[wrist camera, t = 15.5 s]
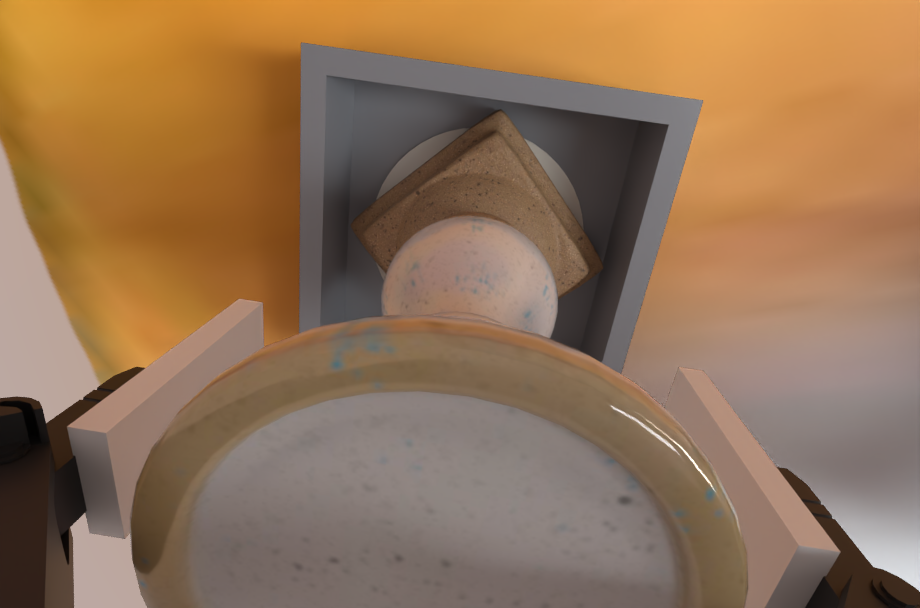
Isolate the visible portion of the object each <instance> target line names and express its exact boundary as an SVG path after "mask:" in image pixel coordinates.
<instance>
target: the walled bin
mask: <svg viewBox="0 0 920 608" xmlns="http://www.w3.org/2000/svg"><path fill="white" fill-rule="evenodd" d="M702 103H703V100H697V99H690V98H683V97H676V96H669V95H662V94H655V93H648V92H641V91H634V90H627V89H620V88H613V87H606V86H599V85H593V84H586V83H579V82H572V81H565V80H558V79H551V78H544V77H537V76H530V75H523V74H516V73H509V72H502V71H495V70H488V69H481V68H474V67H468V66H461V65H454V64H447V63H440V62H433V61H426V60H419V59H412V58H405V57H398V56H391V55H384V54H377V53H370V52H363V51H356V50H349V49H343V48H336V47H329V46H322V45H315V44H308V43H301V134H300V290H299V334H300V333H302V332H305V331H308V330H310V329H313V328H316V327H319V326H323V325H328V324H333V323H338V322H343V321H348V320H353V319H358V318H363V317H368V316H382V310H381V293H382V288H383V283H384V278H385V275H386V274H385V272H384V271H383V270H382V269H381V267H380V266H379V265H378V264H377V262H376V261H375V260H374V259H373V257H372V256H371V255H370V254H369V253H368V251H367V250H366V249H365V247H364V246H363V244H362V243H361V241H360V240H359V239H358V237H357V236H356V234H355V233H354V232H353V230H352V228H351V226H350V225H351V223H352V222H353V220H354V219H355V218H356V217H357V216H358V215H359V214H361V213H362V212H363V211H364V210H365V209H366V208H368V207H369V206H370V205H371V204H372V203H373V202H375V201H376V200H377V199H378V198H379V197H381V196H382V195H383V194H385V193H386V192H387V191H389V190H390V189H391V188H393V187H394V186H395V185H396V184H398V183H399V182H400V181H402V180H403V179H404V178H406V177H407V176H408V175H409V174H411V173H412V172H413V171H415V170H416V169H417V168H419V167H420V166H421V165H422V164H424V163H425V162H426V161H428V160H429V159H430V158H432V157H433V156H434V155H435V154H437V153H438V152H439V151H441V150H442V149H443V148H445V147H446V146H447V145H449V144H450V143H451V142H452V141H454V140H455V139H456V138H458V137H459V136H460V135H462V134H463V133H464V132H465V131H467V130H468V129H469V128H471V127H472V126H473V125H475V124H476V123H478V122H479V121H481V120H482V119H483V118H485V117H486V116H488V115H489V114H491V113H492V112H494V111H496V110H499V109H501V110H503V111H504V112H505V113H506V114H507V115H508V117H509V118H510V119H511V121H512V122H513V123H514V125H515V126H516V128H517V129H518V130H519V132H520V133H521V135H522V136H523V138H524V139H525V141H526V142H527V144H528V145H529V147H530V149H531V150H532V152H533V153H534V155H535V156H536V158H537V159H538V161H539V162H540V164H541V165H542V167H543V169H544V170H545V172H546V173H547V175H548V176H549V178H550V179H551V181H552V182H553V184H554V186H555V187H556V189H557V190H558V192H559V193H560V195H561V196H562V198H563V199H564V201H565V203H566V204H567V206H568V207H569V209H570V210H571V212H572V213H573V215H574V216H575V218H576V220H577V221H578V223H579V224H580V226H581V227H582V229H583V230H584V232H585V233H586V235H587V237H588V238H589V240H590V241H591V243H592V245H593V247H594V248H595V250H596V252H597V254H598V255H599V257H600V259H601V261H602V264H603V267H604V268H603V269H602V270H601V271H600V272H599V273H598V274H597V275H595V276H594V277H592V278H591V279H590V280H588V281H587V282H585V283H584V284H583V285H581V286H580V287H578V288H576V289H575V290H573V291H572V292H570V293H568V294H567V295H565V296H563V297H562V298H560V299H558V313H557V319H556V324H555V327H554V330H553V333H552V336H551V338H550V339H553V340H555V341H557V342H560V343H562V344H565V345H567V346H570V347H572V348H575V349H577V350H579V351H582V352H584V353H586V354H588V355H590V356H591V357H593V358H595V359H596V360H598V361H600V362H601V363H603V364H605V365H606V366H608V367H610V368H611V369H613V370H615V371H616V372H618V373H620V374H621V372H622V369H623V365H624V362H625V359H626V355H627V352H628V349H629V345H630V342H631V339H632V335H633V332H634V329H635V325H636V322H637V319H638V316H639V312H640V309H641V306H642V302H643V299H644V296H645V292H646V289H647V286H648V282H649V279H650V276H651V272H652V269H653V266H654V262H655V259H656V256H657V253H658V249H659V246H660V243H661V239H662V236H663V233H664V229H665V226H666V223H667V219H668V216H669V213H670V209H671V206H672V203H673V199H674V196H675V193H676V190H677V186H678V183H679V180H680V176H681V173H682V170H683V166H684V163H685V160H686V156H687V153H688V150H689V146H690V143H691V140H692V136H693V133H694V130H695V127H696V123H697V120H698V117H699V113H700V110H701V107H702Z"/></svg>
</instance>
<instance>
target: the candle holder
mask: <svg viewBox="0 0 920 608" xmlns="http://www.w3.org/2000/svg"><path fill="white" fill-rule="evenodd" d="M350 226H351V228H352V230H353V232H354V233H355V234H356V236H357V237H358V239H359V240H360V241H361V243H362V244H363V246H364V247H365V249H366V250H367V251H368V253H369V254H370V255H371V256H372V257H373V259H374V260H375V261H376V262H377V264H378V265H379V266H380V267H381V269H382V270H383V271H384V272H385V274H386V275H385V278H384V283H383V288H382V293H381V310H382V316H368V317H363V318H358V319H353V320H348V321H343V322H338V323H333V324H328V325H323V326H319V327H316V328H313V329H310V330H308V331H305V332H302V333H300V334H297V335H294V336H292V337H289V338H286V339H284V340H281V341H278V342H276V343H273V344H270V345H268V346H265V347H263V348H261V349H260V350H258V351H256V352H254V353H253V354H251V355H249V356H248V357H246V358H244V359H243V360H241V361H239V362H237V363H236V364H234V365H232V366H231V367H229V368H227V369H226V370H224V371H223V372H222V373H220V374H219V375H218V376H217V377H216V378H215V379H213V380H212V381H211V382H210V383H209V384H208V385H207V386H205V387H204V388H203V389H202V390H201V391H200V392H199V393H198V394H196V395H195V396H194V397H193V398H192V399H191V400H190V401H189V402H187V403H186V404H185V405H184V406H183V407H182V408H181V409H180V411H179V412H178V413H177V415H176V416H175V417H174V419H173V420H172V422H171V423H170V424H169V426H168V427H167V428H166V430H165V431H164V432H163V434H162V435H161V436H160V438H159V439H158V440H157V442H156V443H155V444H154V446H153V447H152V448H151V450H150V453H149V455H148V457H147V460H146V462H145V464H144V466H143V469H142V471H141V473H140V476H139V478H138V480H137V482H136V487H135V492H134V498H133V503H132V508H131V514H130V537H131V554H132V560H133V564H134V568H135V572H136V576H137V580H138V584H139V588H140V592H141V595H142V597H143V599H144V601H145V603H146V605H147V608H745V604H746V599H747V594H748V589H749V588H748V561H747V549H746V546H745V542H744V538H743V535H742V531H741V527H740V524H739V520H738V517H737V513H736V510H735V508H734V505H733V503H732V501H731V499H730V497H729V495H728V493H727V491H726V489H725V487H724V486H723V484H722V482H721V480H720V478H719V476H718V474H717V472H716V470H715V469H714V467H713V465H712V463H711V461H710V460H709V459H708V457H707V456H706V454H705V453H704V452H703V450H702V449H701V448H700V447H699V445H698V444H697V443H696V442H695V441H694V439H693V438H692V437H691V436H690V434H689V433H688V432H687V431H686V430H685V428H684V427H683V426H682V425H681V423H680V422H679V421H678V420H677V419H676V417H675V416H673V415H672V414H671V413H670V412H669V411H668V410H666V409H665V408H664V407H663V406H662V405H661V404H659V403H658V402H657V401H656V400H655V399H653V398H652V397H651V396H650V395H649V394H648V393H646V392H645V391H644V390H643V389H642V388H641V387H639V386H638V385H637V384H636V383H634V382H633V381H631V380H630V379H628V378H626V377H625V376H623V375H621V374H620V373H618V372H616V371H615V370H613V369H611V368H610V367H608V366H606V365H605V364H603V363H601V362H600V361H598V360H596V359H595V358H593V357H591V356H590V355H588V354H586V353H584V352H582V351H579V350H577V349H575V348H572V347H570V346H567V345H565V344H562V343H560V342H557V341H555V340H553V339H550V338H551V336H552V333H553V330H554V327H555V324H556V319H557V313H558V299H560V298H562V297H563V296H565V295H567V294H568V293H570V292H572V291H573V290H575V289H576V288H578V287H580V286H581V285H583V284H584V283H585V282H587V281H588V280H590V279H591V278H592V277H594V276H595V275H597V274H598V273H599V272H600V271H601V270H602V269H603V268H604V267H603V264H602V261H601V259H600V257H599V255H598V254H597V252H596V250H595V248H594V247H593V245H592V243H591V241H590V240H589V238H588V237H587V235H586V233H585V232H584V230H583V229H582V227H581V226H580V224H579V223H578V221H577V220H576V218H575V216H574V215H573V213H572V212H571V210H570V209H569V207H568V206H567V204H566V203H565V201H564V199H563V198H562V196H561V195H560V193H559V192H558V190H557V189H556V187H555V186H554V184H553V182H552V181H551V179H550V178H549V176H548V175H547V173H546V172H545V170H544V169H543V167H542V165H541V164H540V162H539V161H538V159H537V158H536V156H535V155H534V153H533V152H532V150H531V149H530V147H529V145H528V144H527V142H526V141H525V139H524V138H523V136H522V135H521V133H520V132H519V130H518V129H517V128H516V126H515V125H514V123H513V122H512V121H511V119H510V118H509V117H508V115H507V114H506V113H505V112H504V111H503V110H501V109H499V110H496V111H494V112H492V113H491V114H489V115H488V116H486V117H485V118H483V119H482V120H481V121H479V122H478V123H476V124H475V125H473V126H472V127H471V128H469V129H468V130H467V131H465V132H464V133H463V134H462V135H460V136H459V137H458V138H456V139H455V140H454V141H452V142H451V143H450V144H449V145H447V146H446V147H445V148H443V149H442V150H441V151H439V152H438V153H437V154H435V155H434V156H433V157H432V158H430V159H429V160H428V161H426V162H425V163H424V164H422V165H421V166H420V167H419V168H417V169H416V170H415V171H413V172H412V173H411V174H409V175H408V176H407V177H406V178H404V179H403V180H402V181H400V182H399V183H398V184H396V185H395V186H394V187H393V188H391V189H390V190H389V191H387V192H386V193H385V194H383V195H382V196H381V197H379V198H378V199H377V200H376V201H375V202H373V203H372V204H371V205H370V206H369V207H368V208H366V209H365V210H364V211H363V212H362V213H361V214H359V215H358V216H357V217H356V218H355V219H354V220H353V222H352V223H351V225H350Z"/></svg>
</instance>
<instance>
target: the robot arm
mask: <svg viewBox="0 0 920 608" xmlns="http://www.w3.org/2000/svg"><path fill="white" fill-rule="evenodd" d="M263 347H264V328H263V302H257V301H251V300H244V299H238V300H237V301H235V302H234V303H233V304H231V305H230V306H229V307H227V308H226V309H225V310H223V311H222V312H221V313H219V314H218V315H216V316H215V317H214V318H212V319H211V320H210V321H208V322H207V323H206V324H204V325H203V326H202V327H200V328H199V329H198V330H196V331H195V332H194V333H192V334H191V335H190V336H188V337H187V338H186V339H184V340H183V341H181V342H180V343H179V344H177V345H176V346H175V347H173V348H172V349H171V350H169V351H168V352H167V353H165V354H164V355H163V356H161V357H160V358H159V359H157V360H156V361H155V362H153V363H152V364H151V365H149V366H148V367H147V368H141V367H135V368H132V369H130V370H127V371H125V372H122V373H120V374H117V375H115V376H113V377H112V378H110V379H109V380H107V381H106V382H105V383H103V384H102V385H100V386H99V387H98V388H97V390H93V391H92V392H90V393H89V394H87V395H86V396H85V397H84V398H83V400H79V401H78V402H76V403H75V404H73V405H72V406H70V407H69V408H68V409H66V410H65V411H63V412H62V413H60V414H59V415H58V416H56V417H55V418H54V419H52V420H50V421H49V422H48V423H46V422H45V418H44V414H43V409H42V406H41V404H40V402H39V401H36V400H34V399H32V398H27V397H9V398H0V608H74V583H73V581H74V580H73V537H72V533H71V529H70V526H72V525H73V523H75V522H76V521H77V520H78V519H79V518H80V517H81V516H82V515H83V514H84V513H86V518H87V522H88V527H89V532H90V533H93V534H99V535H105V536H111V537H117V538H122V539H125V538H126V537H127V536H128V535H129V533H130V514H131V508H132V503H133V498H134V492H135V487H136V482H137V480H138V478H139V476H140V473H141V471H142V469H143V466H144V464H145V462H146V460H147V457H148V455H149V453H150V450H151V448H152V447H153V446H154V444H155V443H156V442H157V440H158V439H159V438H160V436H161V435H162V434H163V432H164V431H165V430H166V428H167V427H168V426H169V424H170V423H171V422H172V420H173V419H174V417H175V416H176V415H177V413H178V412H179V411H180V409H181V408H182V407H183V406H184V405H185V404H186V403H187V402H189V401H190V400H191V399H192V398H193V397H194V396H195V395H196V394H198V393H199V392H200V391H201V390H202V389H203V388H204V387H205V386H207V385H208V384H209V383H210V382H211V381H212V380H213V379H215V378H216V377H217V376H218V375H219V374H220V373H222V372H223V371H224V370H226V369H227V368H229V367H231V366H232V365H234V364H236V363H237V362H239V361H241V360H243V359H244V358H246V357H248V356H249V355H251V354H253V353H254V352H256V351H258V350H260V349H261V348H263ZM664 408H665V409H666V410H668V411H669V412H670V413H671V414H672V415H673V416H675V417H676V419H677V420H678V421H679V422H680V423H681V425H682V426H683V427H684V428H685V430H686V431H687V432H688V433H689V434H690V436H691V437H692V438H693V439H694V441H695V442H696V443H697V444H698V445H699V447H700V448H701V449H702V450H703V452H704V453H705V454H706V456H707V457H708V459H709V460H710V461H711V463H712V465H713V467H714V469H715V470H716V472H717V474H718V476H719V478H720V480H721V482H722V484H723V486H724V487H725V489H726V491H727V493H728V495H729V497H730V499H731V501H732V503H733V505H734V508H735V510H736V513H737V517H738V520H739V524H740V527H741V531H742V535H743V538H744V542H745V546H746V549H747V561H748V588H749V589H748V594H747V599H746V604H745V608H920V592H919V591H918V590H917V589H916V588H915V587H913V586H912V585H910V584H909V583H907V582H905V581H904V580H902V579H901V578H899V577H898V576H895V575H893V574H891V573H889V572H887V571H885V570H882V569H878V568H874V567H873V566H872V565H871V564H870V563H869V561H868V560H867V559H866V558H865V556H864V555H863V554H862V553H861V551H860V550H859V549H858V548H857V546H856V545H855V544H854V543H853V541H852V540H851V539H850V538H849V536H848V535H847V534H846V533H845V531H844V530H843V529H842V528H841V526H840V525H839V524H838V523H837V521H836V520H835V519H832V515H831V514H830V513H829V511H828V510H827V509H826V508H825V506H824V505H821V502H820V500H819V499H818V498H817V497H816V495H815V494H814V493H813V492H812V490H811V489H810V488H809V487H808V485H807V484H805V483H804V482H803V481H802V480H800V479H799V478H798V477H797V476H795V475H794V474H793V473H792V472H790V471H789V470H788V469H785V468H779V467H776V466H775V465H774V463H773V462H772V461H771V459H770V458H769V457H768V455H767V454H766V453H765V451H764V450H763V449H762V447H761V446H760V445H759V443H758V442H757V441H756V440H755V438H754V437H753V436H752V434H751V433H750V432H749V430H748V429H747V428H746V426H745V425H744V424H743V422H742V421H741V420H740V418H739V417H738V416H737V414H736V413H735V412H734V410H733V409H732V408H731V406H730V405H729V404H728V403H727V401H726V400H725V399H724V397H723V396H722V395H721V393H720V392H719V391H718V389H717V388H716V387H715V385H714V384H713V383H712V381H711V380H710V379H709V377H708V376H707V375H706V373H705V372H704V371H702V370H695V369H689V368H682V367H679V368H678V370H677V373H676V376H675V379H674V382H673V385H672V388H671V390H670V393H669V396H668V399H667V402H666V405H665V407H664Z"/></svg>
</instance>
